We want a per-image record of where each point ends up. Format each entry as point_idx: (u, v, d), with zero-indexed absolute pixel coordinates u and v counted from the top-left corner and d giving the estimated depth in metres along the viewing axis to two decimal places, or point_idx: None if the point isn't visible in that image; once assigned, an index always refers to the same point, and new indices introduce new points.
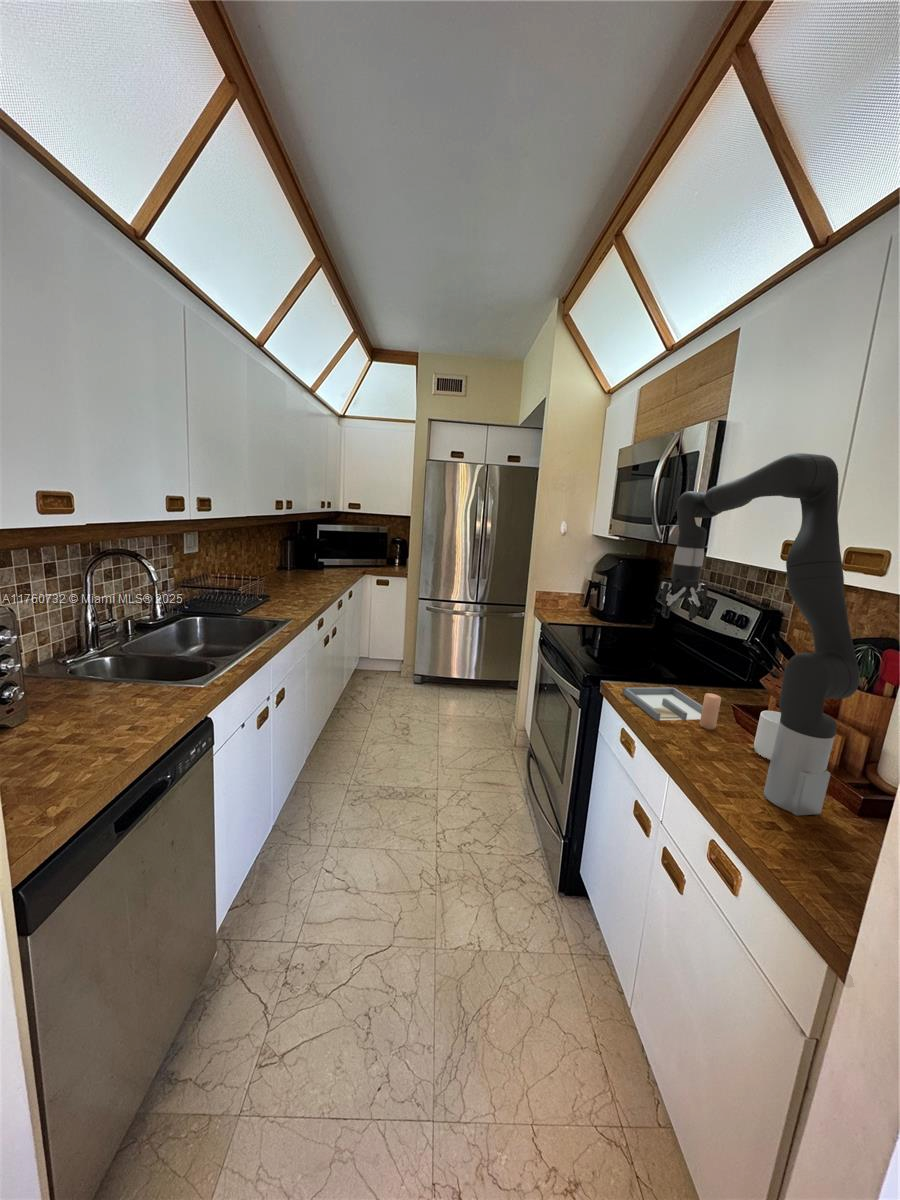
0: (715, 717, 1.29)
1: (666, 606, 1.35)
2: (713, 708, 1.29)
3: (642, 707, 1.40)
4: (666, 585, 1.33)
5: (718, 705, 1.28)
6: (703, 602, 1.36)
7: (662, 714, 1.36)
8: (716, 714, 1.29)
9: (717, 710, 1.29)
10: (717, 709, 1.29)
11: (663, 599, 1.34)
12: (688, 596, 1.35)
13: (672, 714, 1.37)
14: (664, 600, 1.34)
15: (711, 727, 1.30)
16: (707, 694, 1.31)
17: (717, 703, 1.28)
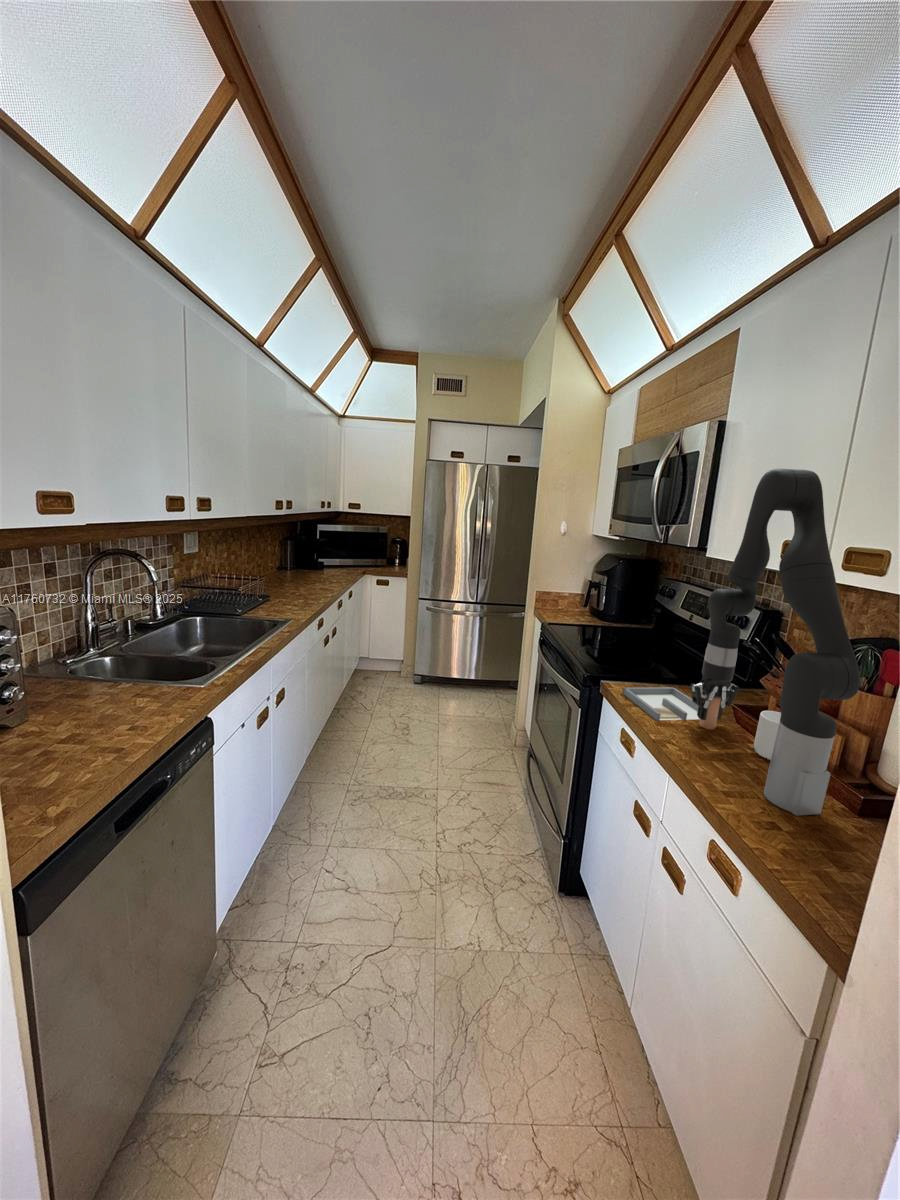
0: (715, 717, 1.29)
1: (702, 708, 1.29)
2: (713, 708, 1.29)
3: (642, 707, 1.40)
4: (697, 689, 1.27)
5: (718, 705, 1.28)
6: (728, 703, 1.30)
7: (662, 714, 1.36)
8: (716, 714, 1.29)
9: (717, 710, 1.29)
10: (717, 709, 1.29)
11: (700, 702, 1.28)
12: (717, 694, 1.29)
13: (672, 714, 1.37)
14: (701, 703, 1.28)
15: (711, 727, 1.30)
16: None
17: (717, 703, 1.28)
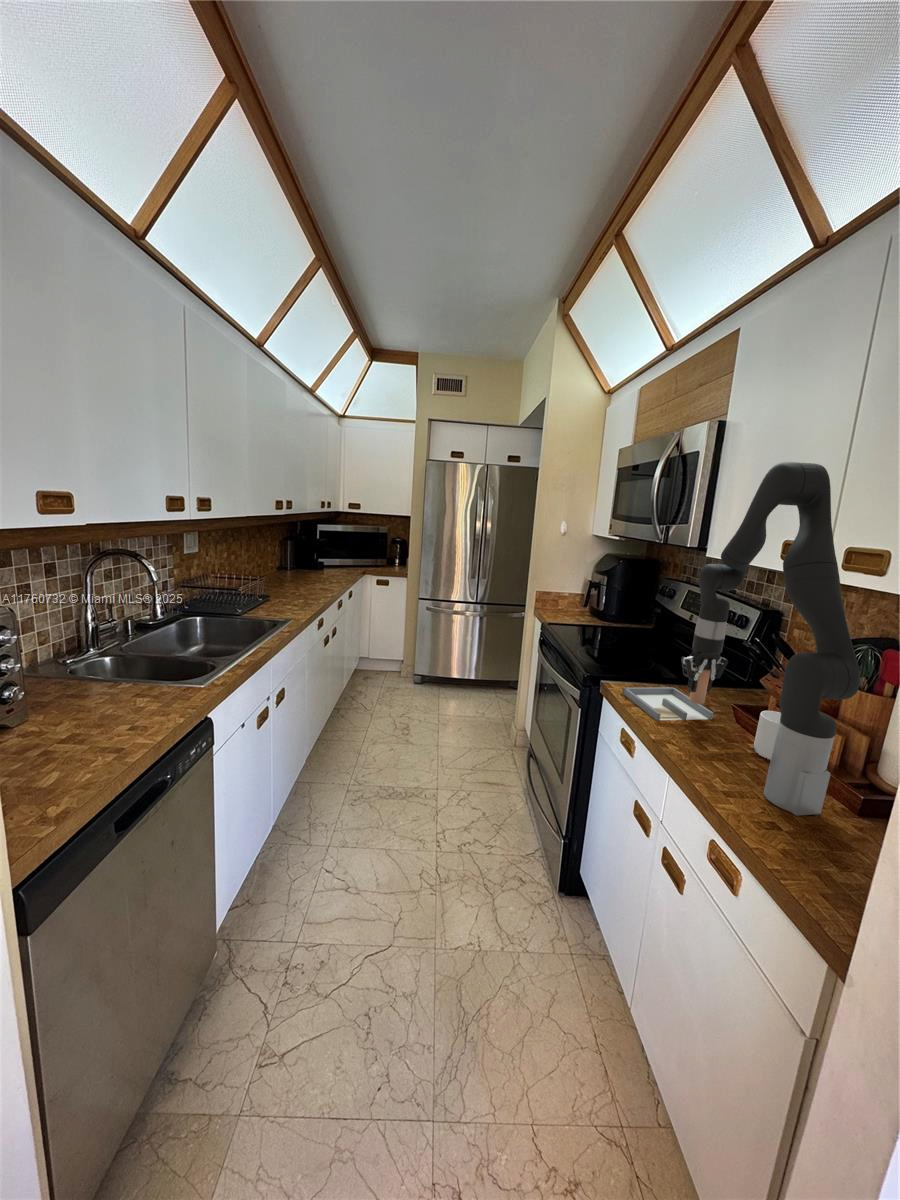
0: (705, 689, 1.33)
1: (693, 680, 1.34)
2: (703, 680, 1.33)
3: (642, 707, 1.40)
4: (687, 662, 1.31)
5: (707, 677, 1.33)
6: (718, 676, 1.34)
7: (662, 714, 1.36)
8: (706, 686, 1.33)
9: (706, 682, 1.33)
10: (706, 681, 1.33)
11: (690, 674, 1.32)
12: (707, 666, 1.33)
13: (672, 714, 1.37)
14: (691, 675, 1.32)
15: (701, 699, 1.34)
16: None
17: (707, 675, 1.32)
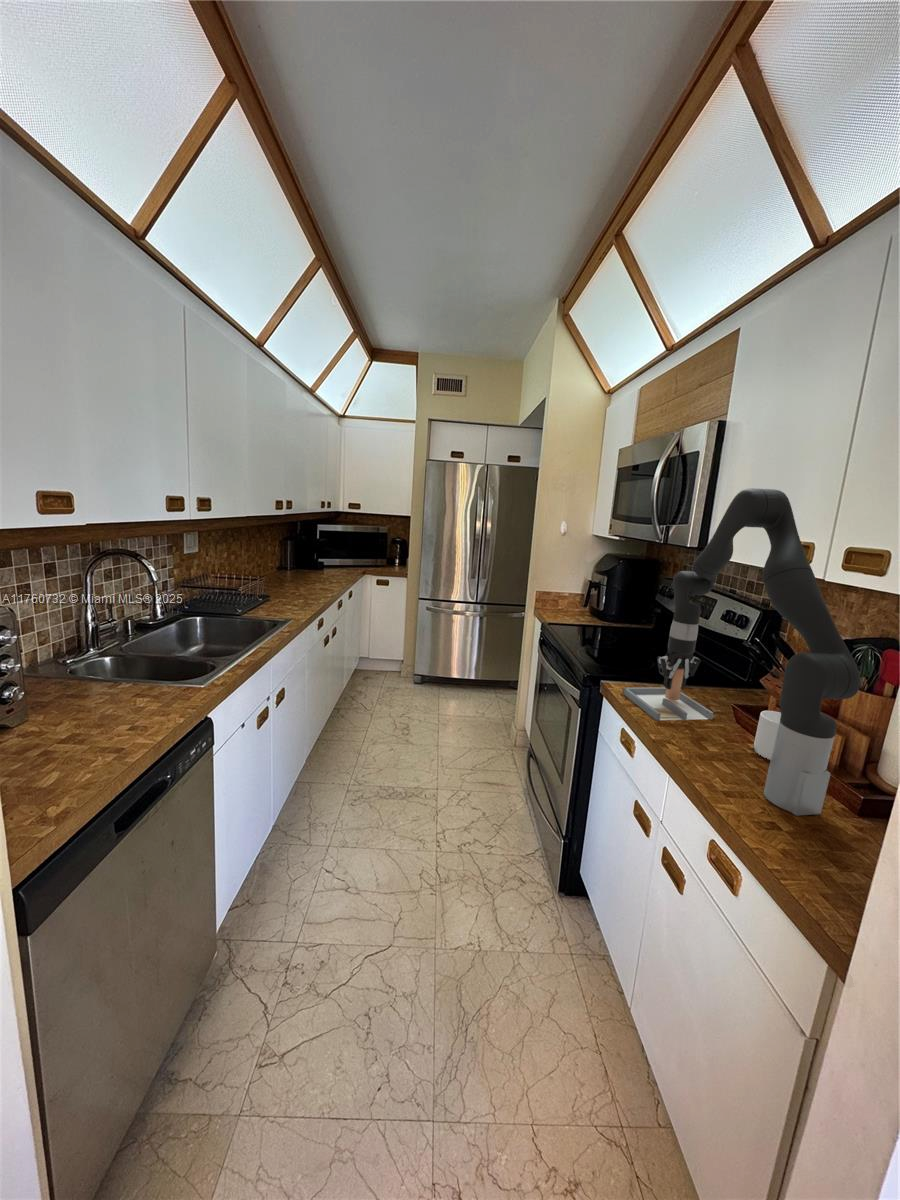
0: (679, 686, 1.44)
1: (668, 678, 1.45)
2: (677, 678, 1.44)
3: (642, 707, 1.40)
4: (662, 661, 1.42)
5: (681, 676, 1.44)
6: (691, 674, 1.45)
7: (662, 714, 1.36)
8: (680, 684, 1.44)
9: (681, 680, 1.44)
10: (680, 679, 1.44)
11: (665, 672, 1.43)
12: (681, 665, 1.44)
13: (672, 714, 1.37)
14: (666, 673, 1.44)
15: (676, 695, 1.45)
16: None
17: (681, 673, 1.44)
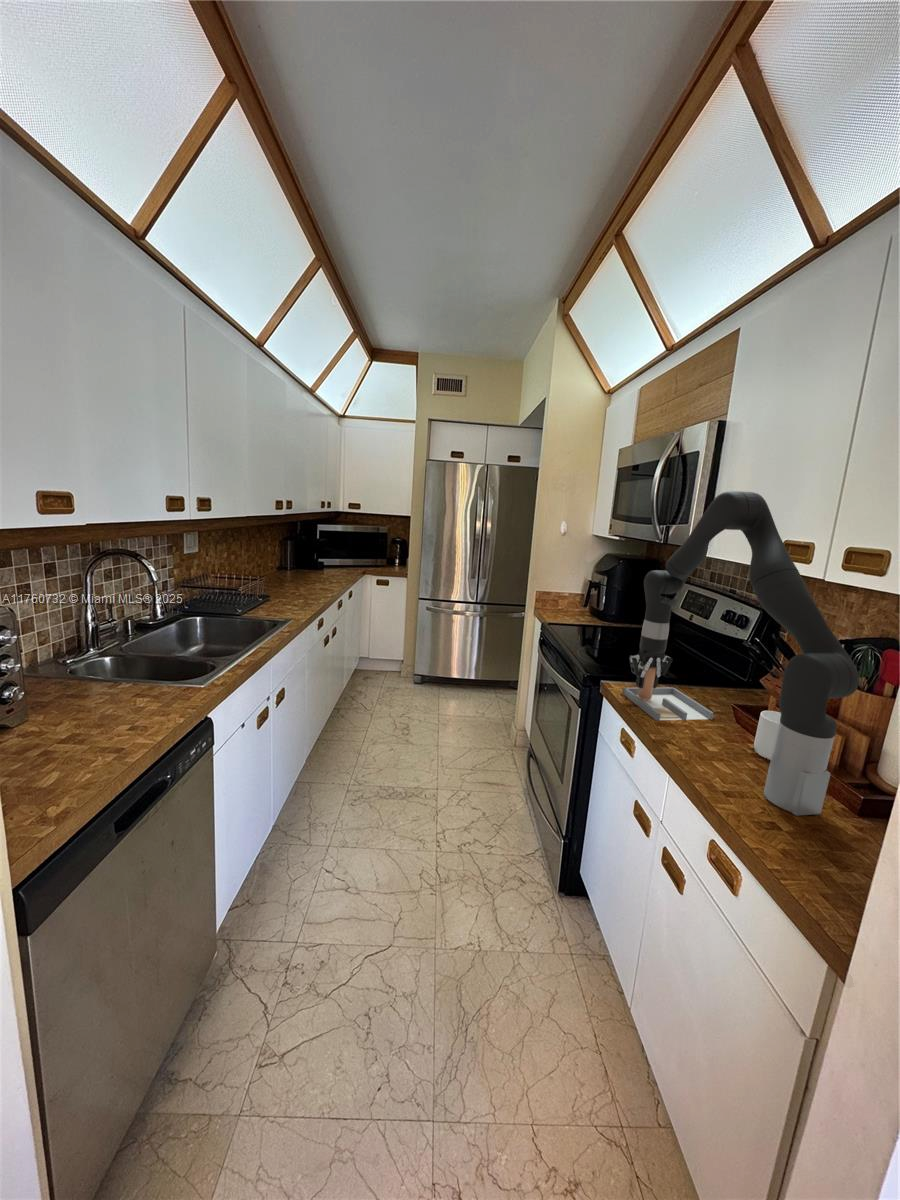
0: (651, 685, 1.45)
1: (640, 677, 1.45)
2: (649, 677, 1.44)
3: (642, 707, 1.40)
4: (634, 660, 1.43)
5: (653, 675, 1.44)
6: (663, 673, 1.45)
7: (662, 714, 1.36)
8: (652, 683, 1.45)
9: (652, 679, 1.44)
10: (652, 678, 1.44)
11: (637, 671, 1.44)
12: (653, 664, 1.44)
13: (672, 714, 1.37)
14: (638, 672, 1.44)
15: (648, 694, 1.45)
16: None
17: (653, 672, 1.44)
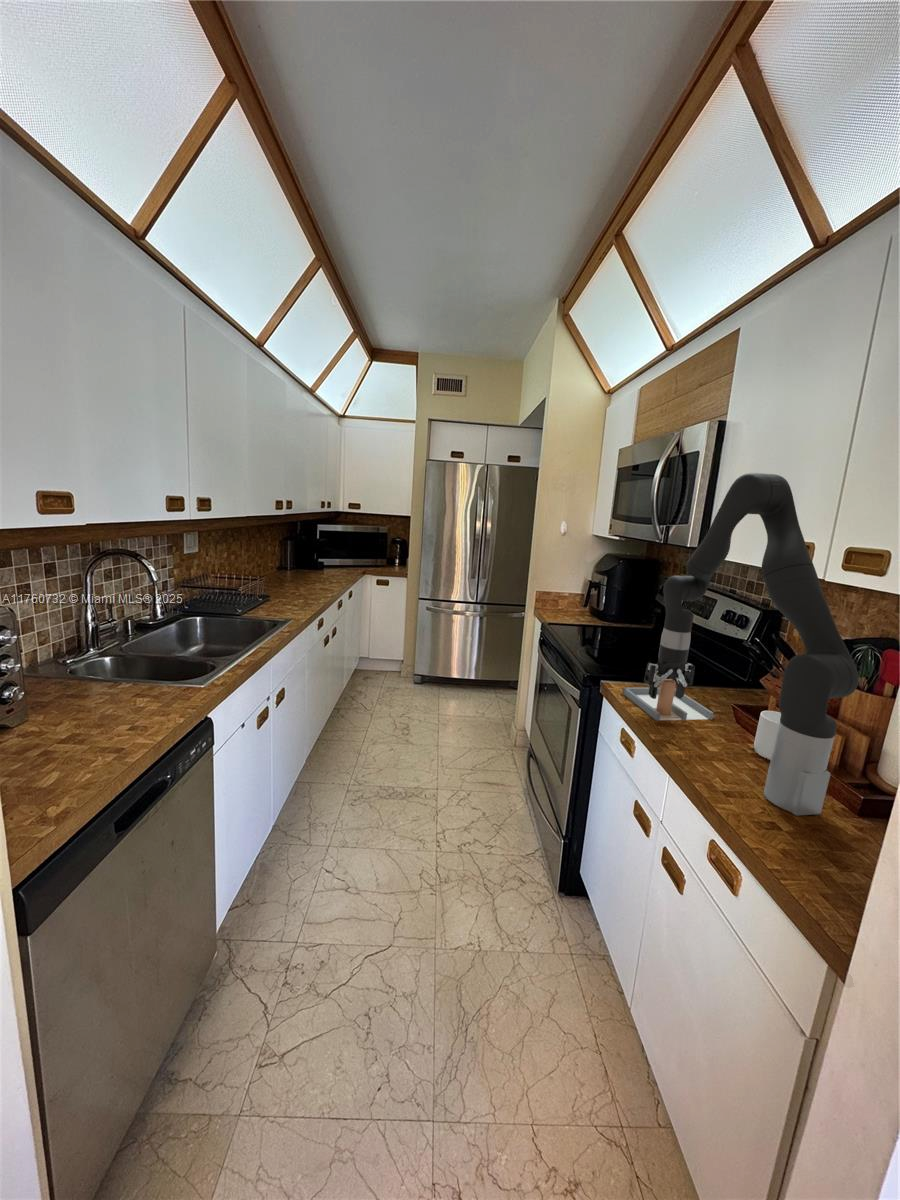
0: (670, 700, 1.35)
1: (653, 687, 1.35)
2: (668, 692, 1.34)
3: (642, 707, 1.40)
4: (653, 667, 1.33)
5: (673, 689, 1.34)
6: (690, 682, 1.36)
7: None
8: (671, 697, 1.35)
9: (672, 694, 1.35)
10: (672, 693, 1.35)
11: (650, 681, 1.33)
12: (675, 677, 1.35)
13: (672, 714, 1.37)
14: (651, 682, 1.34)
15: (667, 710, 1.36)
16: None
17: (672, 687, 1.34)
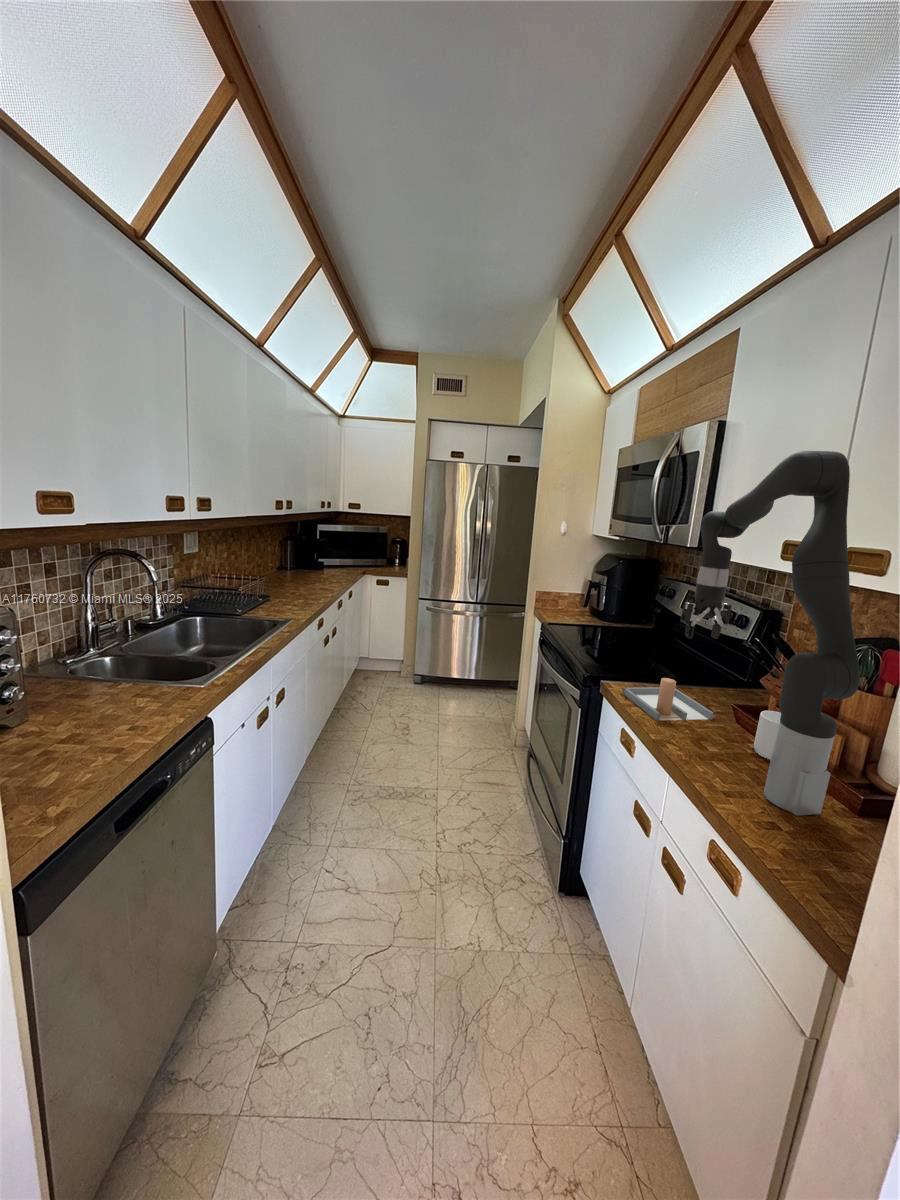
0: (670, 700, 1.35)
1: (690, 626, 1.34)
2: (668, 692, 1.34)
3: (642, 707, 1.40)
4: (690, 606, 1.31)
5: (673, 689, 1.34)
6: (726, 622, 1.35)
7: None
8: (671, 697, 1.35)
9: (672, 694, 1.35)
10: (672, 693, 1.35)
11: (687, 620, 1.32)
12: (712, 616, 1.34)
13: (672, 714, 1.37)
14: (688, 621, 1.32)
15: (667, 710, 1.36)
16: (663, 679, 1.37)
17: (672, 687, 1.34)
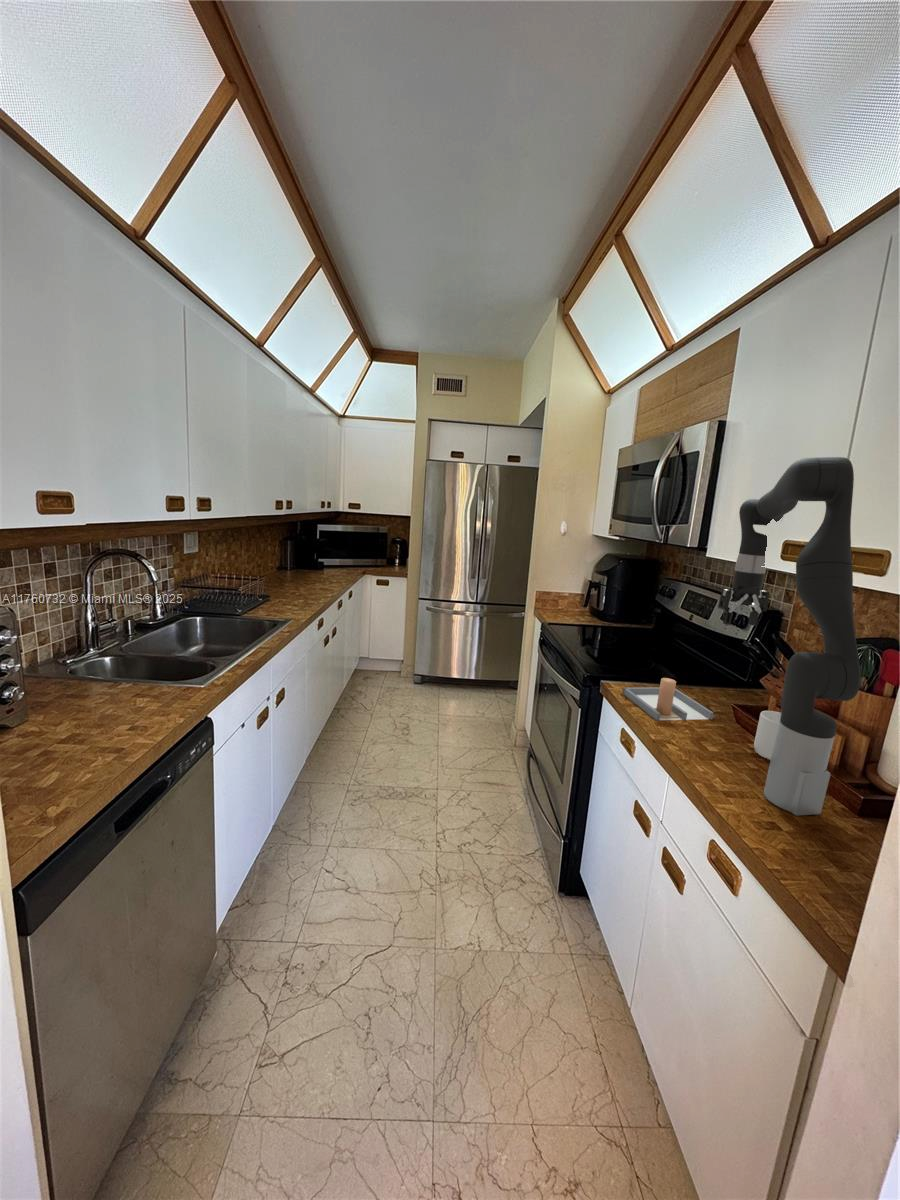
0: (670, 700, 1.35)
1: (728, 613, 1.36)
2: (668, 692, 1.34)
3: (642, 707, 1.40)
4: (729, 592, 1.34)
5: (673, 689, 1.34)
6: (764, 609, 1.37)
7: None
8: (671, 697, 1.35)
9: (672, 694, 1.35)
10: (672, 693, 1.35)
11: (725, 606, 1.34)
12: (750, 603, 1.36)
13: (672, 714, 1.37)
14: (726, 607, 1.35)
15: (667, 710, 1.36)
16: (663, 679, 1.37)
17: (672, 687, 1.34)
